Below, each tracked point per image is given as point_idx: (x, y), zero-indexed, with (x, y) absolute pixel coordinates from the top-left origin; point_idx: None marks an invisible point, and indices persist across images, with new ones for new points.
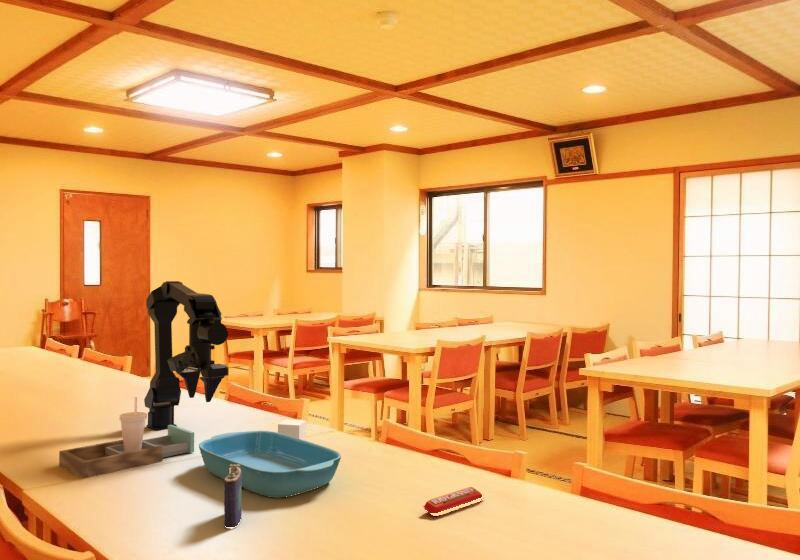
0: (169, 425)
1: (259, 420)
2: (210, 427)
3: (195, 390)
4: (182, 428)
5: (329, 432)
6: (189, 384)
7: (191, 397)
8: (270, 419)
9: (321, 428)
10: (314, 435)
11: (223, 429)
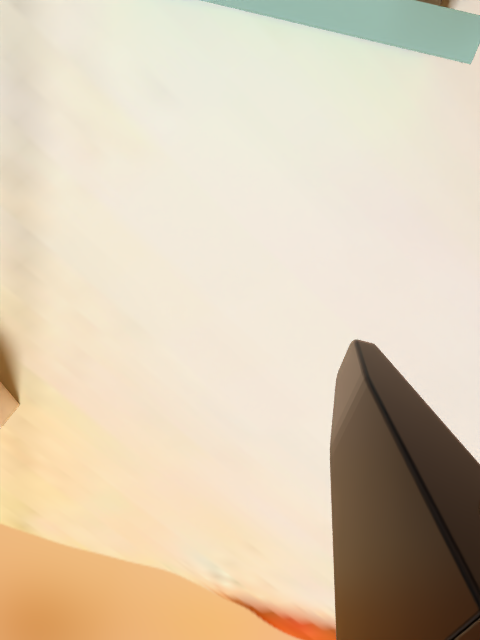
0: (464, 22)
1: (326, 561)
2: None
3: (332, 467)
4: (249, 10)
5: (13, 516)
6: (399, 512)
7: (347, 352)
8: (299, 577)
9: (71, 540)
10: (11, 480)
11: None
